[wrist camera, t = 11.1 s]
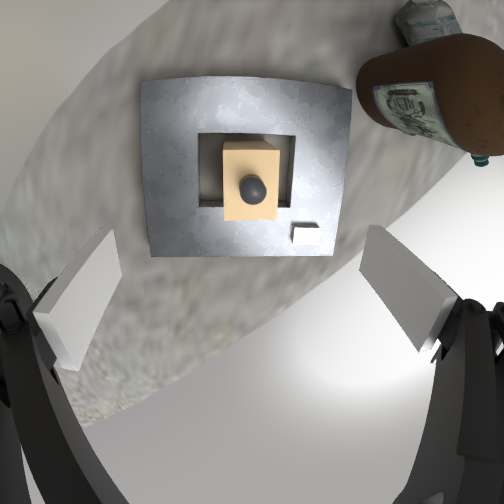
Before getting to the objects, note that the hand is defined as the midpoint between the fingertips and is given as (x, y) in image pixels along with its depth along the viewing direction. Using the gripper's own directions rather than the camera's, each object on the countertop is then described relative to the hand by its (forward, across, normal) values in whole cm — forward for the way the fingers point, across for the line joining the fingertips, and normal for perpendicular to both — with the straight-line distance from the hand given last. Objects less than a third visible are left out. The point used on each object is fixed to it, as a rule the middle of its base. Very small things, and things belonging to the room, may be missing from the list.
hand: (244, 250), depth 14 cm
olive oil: (+19, +19, +12) cm, 29 cm away
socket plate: (+19, +1, +1) cm, 19 cm away
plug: (+19, +1, +1) cm, 19 cm away
